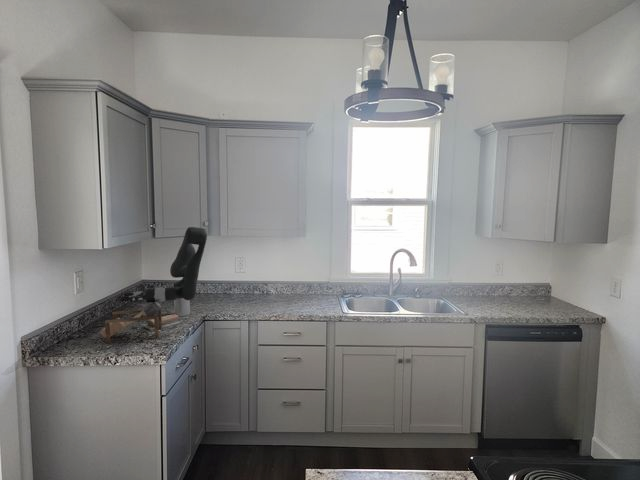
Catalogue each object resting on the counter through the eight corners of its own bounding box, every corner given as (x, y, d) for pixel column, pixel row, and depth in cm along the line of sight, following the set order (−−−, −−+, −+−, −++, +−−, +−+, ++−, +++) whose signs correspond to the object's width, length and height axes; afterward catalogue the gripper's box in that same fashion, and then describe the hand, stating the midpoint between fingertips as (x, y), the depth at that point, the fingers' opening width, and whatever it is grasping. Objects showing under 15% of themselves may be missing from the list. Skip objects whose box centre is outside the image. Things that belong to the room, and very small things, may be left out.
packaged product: (173, 312, 221) (181, 315, 214) (173, 320, 221) (182, 323, 215) (143, 319, 207) (150, 322, 201) (143, 327, 208) (151, 331, 201)
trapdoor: (130, 327, 198) (125, 321, 197) (160, 305, 202) (155, 299, 201) (125, 335, 185) (119, 329, 184) (157, 312, 189) (152, 305, 188)
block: (125, 323, 193) (109, 336, 191) (118, 316, 192) (102, 329, 190) (123, 326, 189) (106, 339, 187) (116, 319, 187) (99, 332, 185)
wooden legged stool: (114, 332, 198) (113, 311, 197) (161, 328, 205) (161, 308, 204) (106, 343, 181) (104, 320, 180) (158, 338, 189) (157, 316, 188)
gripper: (157, 285, 201) (124, 287, 196) (154, 290, 188) (119, 293, 183) (158, 298, 202) (125, 301, 197) (154, 305, 188) (119, 307, 183)
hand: (122, 297), depth 190 cm, fingers open, 8 cm apart
